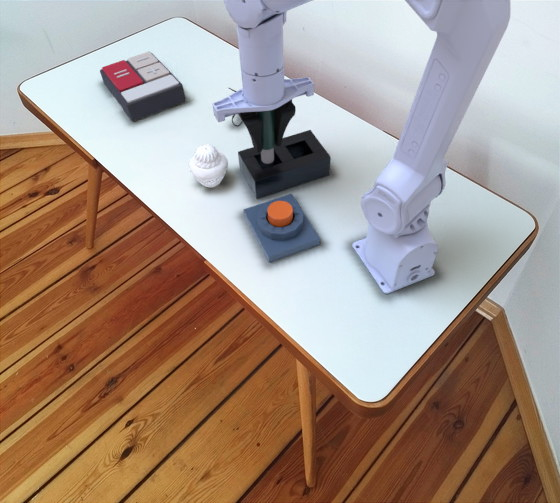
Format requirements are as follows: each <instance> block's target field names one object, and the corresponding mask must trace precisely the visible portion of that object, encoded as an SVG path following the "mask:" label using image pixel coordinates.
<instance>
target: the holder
mask: <svg viewBox="0 0 560 503" xmlns="http://www.w3.org/2000/svg"><path fill="white" fill-rule="evenodd" d="M237 157H238V166H239V171H240V173H241V175H242V176H243V178H244V180H245V182H246V184H247V185H248V187H249V188H250V190H251V192H252V195H253V196H254V198H255V199H256V200H260V199H262V198H264V197H268V196H271V195H275V194H278V193H281V192H283V191H286V190H289V189H292V188H295V187H299V186H301V185H304V184H308V183H311V182H314V181H316V180H319V179H323V178H325V177H329V176H330V173H331V160H332V159H331V158H332V157H331V155H330V154H329V153H328V151H327V150H326V148H325V147H324V145H323V144H322V142H320V141H319V139H318V138H317V136H316V135H315V133H313V131H312V130H311V129H308V130H305V131H301V132H298V133H295V134H291V135H288V136H284V137H283V139H282V143H281V146H278V147H277V146H276V144H275V146H274V161H273V162H272V163H269V164H266V163H263V162H262V160H261V152H257V151H256V149H255V148H254V146H252V147H248V148H246V149H242V150H238V151H237Z"/></svg>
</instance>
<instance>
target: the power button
mask: <svg viewBox="0 0 560 503" xmlns="http://www.w3.org/2000/svg"><path fill="white" fill-rule="evenodd" d="M267 211H268V221H269V222H270V224H271V225H273V226H275V227H285V226H287V225H289V224H290V223H291V222H292V220H293V208H292V206H291V205H290V204H289V203H288V202H285V201H276V202H273V203H272V204H270V205H269V207H268V210H267Z"/></svg>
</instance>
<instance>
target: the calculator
mask: <svg viewBox="0 0 560 503" xmlns="http://www.w3.org/2000/svg"><path fill="white" fill-rule="evenodd" d="M99 73H100V77H101V79H102V82H103V85H104V86H105V87H106V88H107V90H108V91H109V92H110V94H111V95H112V96H113V97H114V99H115V100H116V102H117V103H118V104H119V106H121V108H122V110H123V112H124V113H125V115H126V116H127V117H128V118H129V120H130V121H131V122H136V121H139V120H141V119H144V118H147V117H149V116H151V115H155V114H157V113H159V112H163V111H165V110H168V109H170V108H173V107H176V106H178V105H181V104H183V103H185V102H187V99H186V94H185V90H184V86H183V85H184V84H183V83H182V82H181V81H180V80H179V79H178V78H177V76H175V75H174V74H173V73H172V72H171V71H170V70H169V69H168V68H167V67H166V66H165V65H164V64H163V63H162V62H161V60H159V58H157V56H156V55H155V54H154V53H152V52H151V51H146V52H143V53H139V54H137V55H133V56H131V57H128V58H127V60H125V59H123V60H119V61H117V62H113V63H110V64H108V65H105V66H102V67H101V69H99Z"/></svg>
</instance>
